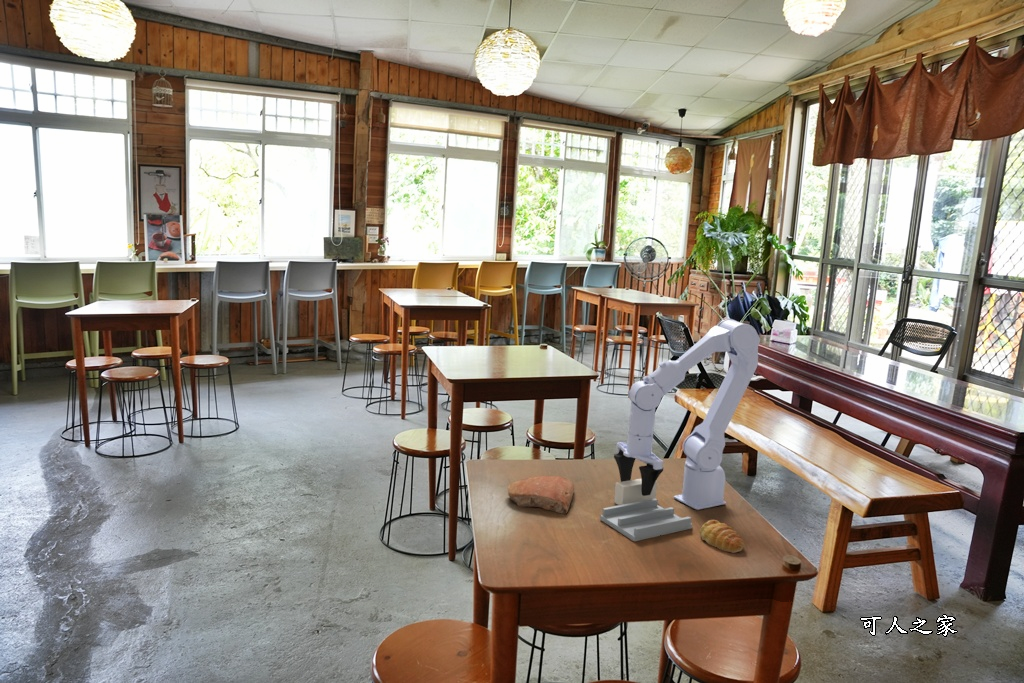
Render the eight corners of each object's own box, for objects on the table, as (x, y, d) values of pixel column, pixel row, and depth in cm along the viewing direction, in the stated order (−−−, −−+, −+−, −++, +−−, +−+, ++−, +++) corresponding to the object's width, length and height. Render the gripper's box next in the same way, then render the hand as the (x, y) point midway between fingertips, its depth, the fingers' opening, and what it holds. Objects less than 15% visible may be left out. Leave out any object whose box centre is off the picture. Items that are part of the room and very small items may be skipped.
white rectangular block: (646, 496, 166) (648, 477, 166) (655, 501, 164) (657, 481, 163) (614, 503, 162) (615, 482, 161) (622, 507, 159) (623, 487, 158)
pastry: (752, 551, 140) (754, 534, 140) (727, 557, 137) (729, 539, 136) (718, 532, 148) (720, 516, 148) (694, 538, 145) (696, 521, 145)
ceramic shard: (517, 464, 170) (577, 479, 167) (512, 489, 170) (571, 505, 167) (507, 476, 155) (572, 493, 153) (500, 503, 155) (565, 522, 153)
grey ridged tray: (656, 508, 159) (657, 498, 159) (692, 528, 149) (693, 517, 149) (600, 519, 151) (600, 508, 151) (634, 541, 141) (635, 530, 141)
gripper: (607, 426, 164) (603, 480, 166) (647, 444, 152) (642, 502, 154) (631, 423, 168) (626, 476, 170) (672, 441, 155) (666, 498, 157)
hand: (635, 489), depth 162 cm, fingers open, 7 cm apart
